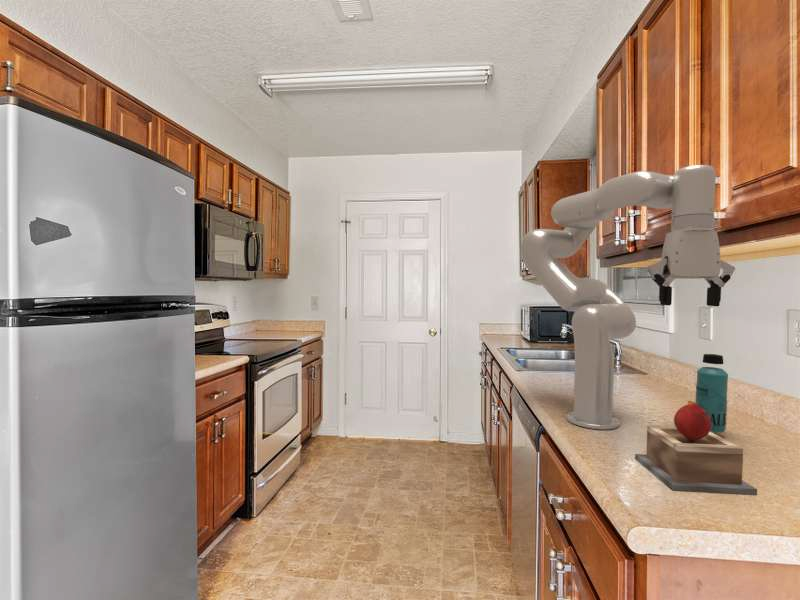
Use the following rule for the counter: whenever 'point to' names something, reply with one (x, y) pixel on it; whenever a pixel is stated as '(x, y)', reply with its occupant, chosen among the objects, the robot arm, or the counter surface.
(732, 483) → the open square box
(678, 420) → the pomegranate
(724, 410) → the beverage bottle
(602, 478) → the counter surface
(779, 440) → the counter surface
